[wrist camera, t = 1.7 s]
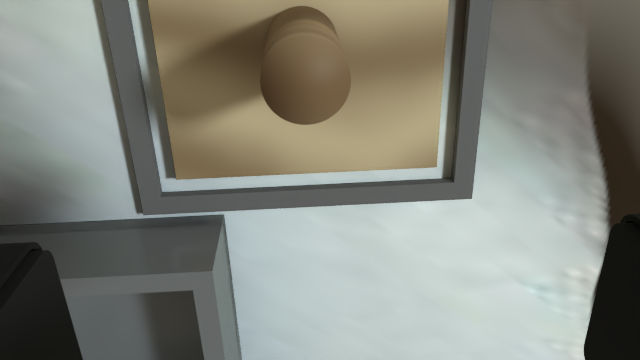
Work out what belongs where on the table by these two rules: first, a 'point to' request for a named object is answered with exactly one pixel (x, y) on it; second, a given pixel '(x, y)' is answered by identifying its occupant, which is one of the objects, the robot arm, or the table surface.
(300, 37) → the lid
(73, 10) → the table surface
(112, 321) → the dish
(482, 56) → the picture frame
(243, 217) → the table surface
